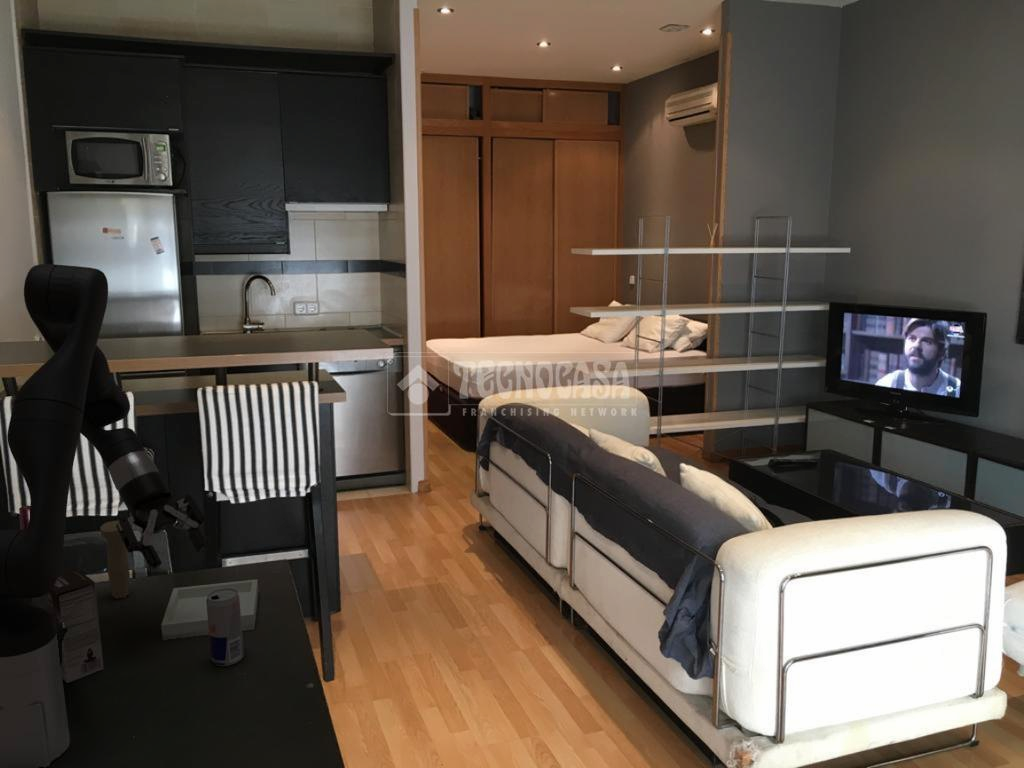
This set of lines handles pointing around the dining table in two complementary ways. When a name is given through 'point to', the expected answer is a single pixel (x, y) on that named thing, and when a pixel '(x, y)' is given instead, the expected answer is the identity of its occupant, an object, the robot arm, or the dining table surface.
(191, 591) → the tray
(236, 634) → the energy drink
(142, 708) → the dining table surface
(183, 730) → the dining table surface
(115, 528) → the handle
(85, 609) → the coffee box
